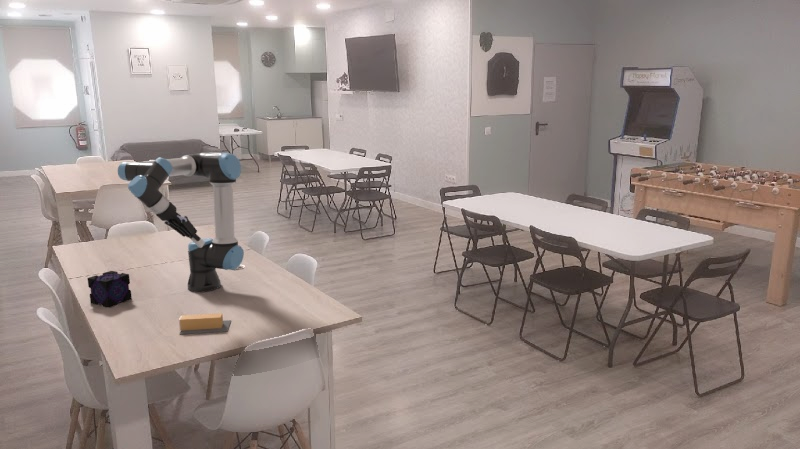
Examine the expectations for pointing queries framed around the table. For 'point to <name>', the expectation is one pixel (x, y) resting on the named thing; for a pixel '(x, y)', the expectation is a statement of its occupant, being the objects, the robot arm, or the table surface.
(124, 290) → the energy cube
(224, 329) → the mat
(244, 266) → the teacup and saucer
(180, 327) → the tall block
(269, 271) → the table surface
